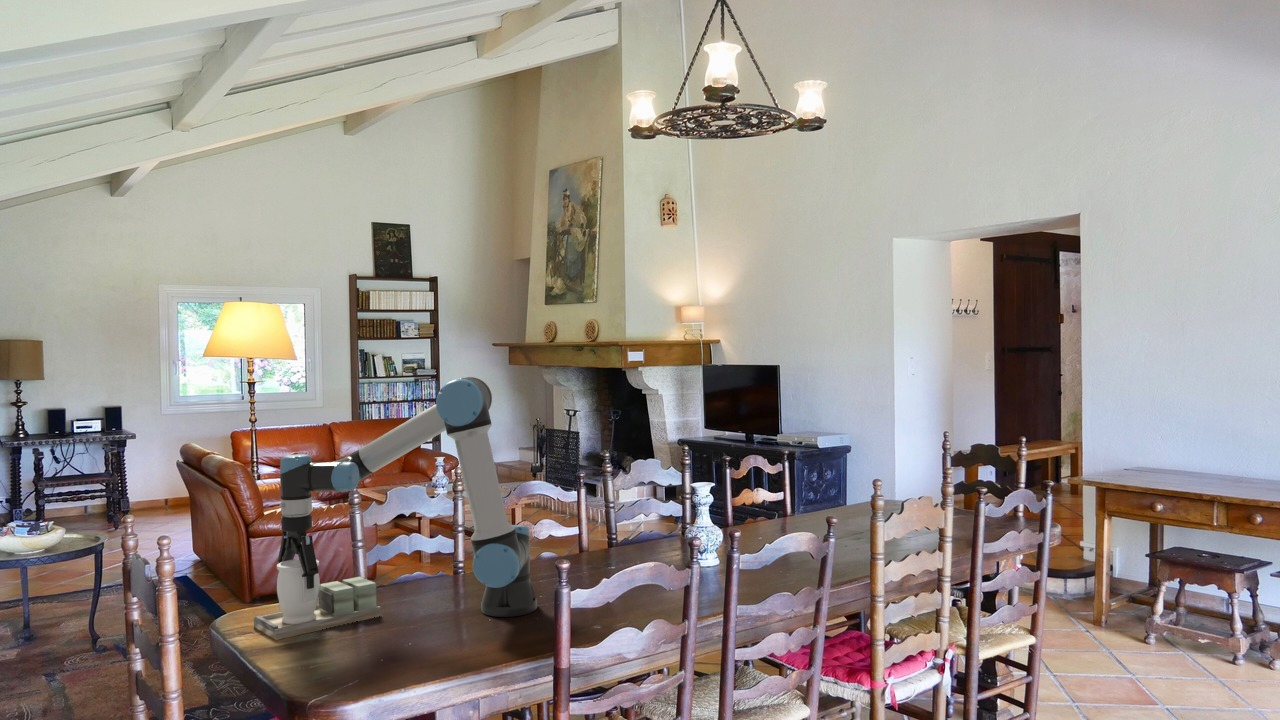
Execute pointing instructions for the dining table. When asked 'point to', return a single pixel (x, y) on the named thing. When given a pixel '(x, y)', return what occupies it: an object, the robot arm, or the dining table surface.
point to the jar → (295, 593)
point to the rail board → (328, 609)
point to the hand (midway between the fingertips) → (298, 596)
